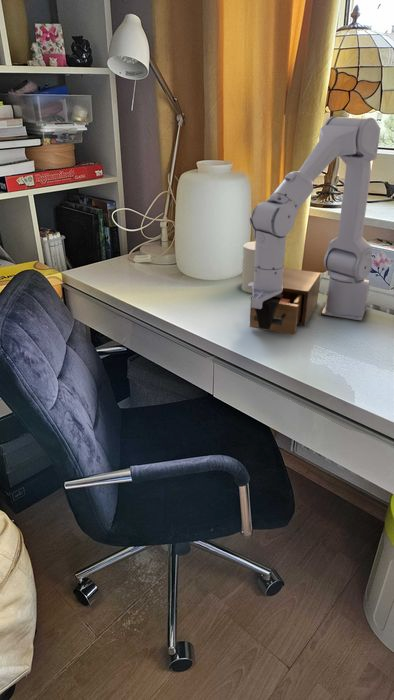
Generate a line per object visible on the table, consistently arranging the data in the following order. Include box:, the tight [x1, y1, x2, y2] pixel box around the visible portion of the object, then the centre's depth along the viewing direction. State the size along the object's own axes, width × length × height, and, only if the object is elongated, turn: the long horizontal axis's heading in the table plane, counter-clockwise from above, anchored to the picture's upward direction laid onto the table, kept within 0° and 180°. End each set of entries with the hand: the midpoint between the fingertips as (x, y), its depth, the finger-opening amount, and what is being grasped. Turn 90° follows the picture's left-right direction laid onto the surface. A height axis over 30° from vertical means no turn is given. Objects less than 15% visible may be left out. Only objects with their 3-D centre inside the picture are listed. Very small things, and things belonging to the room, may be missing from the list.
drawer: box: [249, 291, 305, 336], centre depth 108 cm, size 17×10×7 cm, turn 156°
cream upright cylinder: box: [241, 240, 256, 294], centre depth 129 cm, size 8×8×12 cm
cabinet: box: [282, 267, 321, 327], centre depth 116 cm, size 14×12×9 cm
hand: (264, 327), depth 100 cm, fingers closed
